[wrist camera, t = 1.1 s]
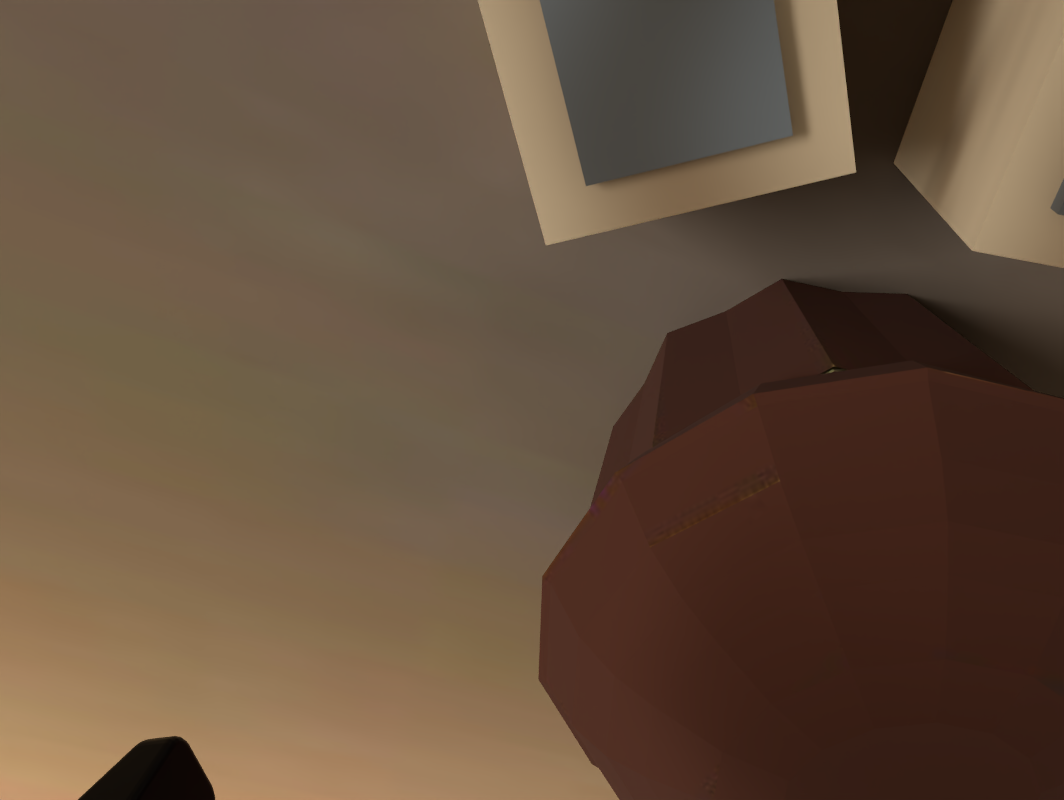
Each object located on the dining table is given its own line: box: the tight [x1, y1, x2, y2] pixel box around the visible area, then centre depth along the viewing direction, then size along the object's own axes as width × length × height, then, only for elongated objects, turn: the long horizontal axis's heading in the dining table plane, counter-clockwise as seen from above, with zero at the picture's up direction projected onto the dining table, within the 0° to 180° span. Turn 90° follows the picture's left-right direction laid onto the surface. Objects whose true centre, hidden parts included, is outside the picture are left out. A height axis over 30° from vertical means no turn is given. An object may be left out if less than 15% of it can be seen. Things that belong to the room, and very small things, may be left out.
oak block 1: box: [478, 0, 856, 245], centre depth 17 cm, size 5×5×5 cm
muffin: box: [539, 279, 1064, 800], centre depth 19 cm, size 12×11×10 cm
